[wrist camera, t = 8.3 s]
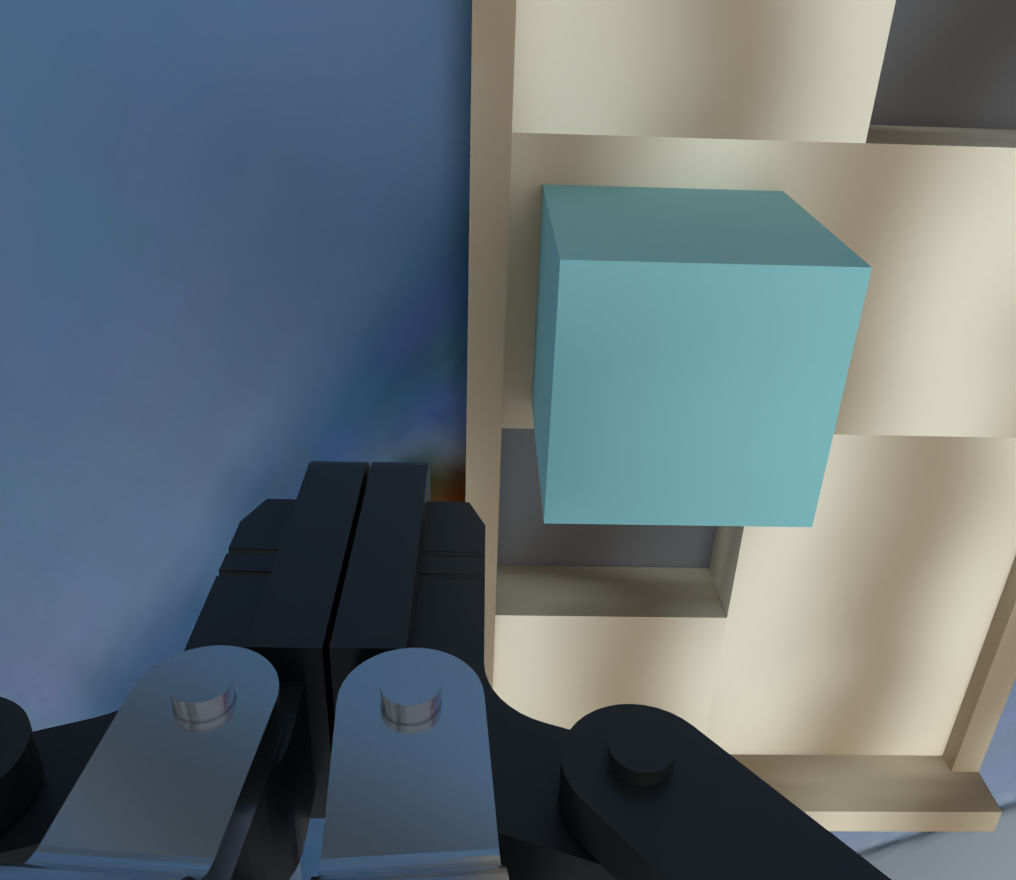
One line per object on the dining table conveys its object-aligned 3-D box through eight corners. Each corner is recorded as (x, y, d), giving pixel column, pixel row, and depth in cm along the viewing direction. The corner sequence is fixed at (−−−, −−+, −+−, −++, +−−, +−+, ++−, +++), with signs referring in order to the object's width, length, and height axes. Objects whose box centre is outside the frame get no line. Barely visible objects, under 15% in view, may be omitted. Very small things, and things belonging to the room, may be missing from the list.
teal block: (531, 402, 21) (544, 523, 17) (542, 184, 19) (559, 260, 15) (745, 406, 22) (812, 527, 17) (783, 190, 19) (871, 267, 15)
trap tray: (463, 711, 29) (460, 830, 25) (478, -271, 17) (475, -330, 13) (927, 715, 30) (993, 831, 26) (1255, -235, 18) (1468, -281, 14)
